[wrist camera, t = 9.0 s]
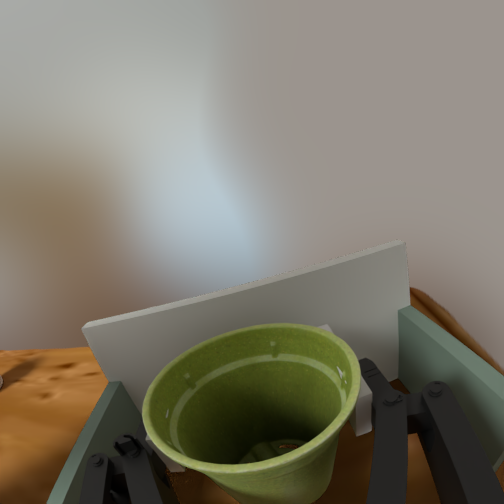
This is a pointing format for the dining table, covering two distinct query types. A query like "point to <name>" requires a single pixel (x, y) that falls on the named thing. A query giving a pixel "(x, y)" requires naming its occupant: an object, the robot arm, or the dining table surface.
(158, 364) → the grey-green angled panels
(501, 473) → the dining table surface
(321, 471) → the plant pot
